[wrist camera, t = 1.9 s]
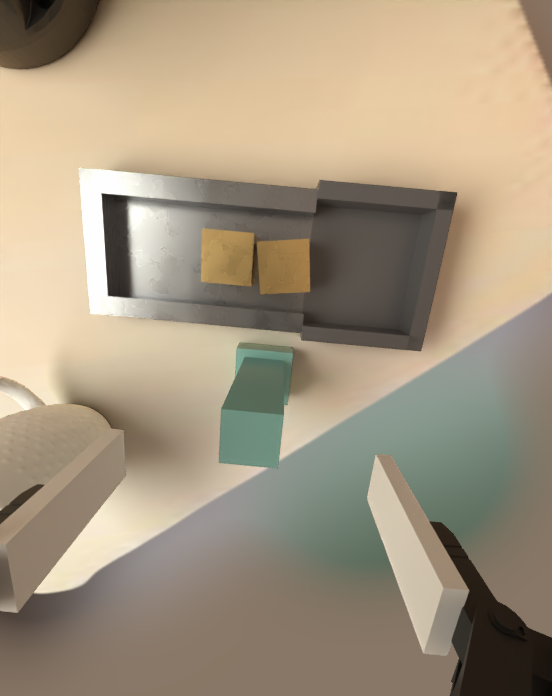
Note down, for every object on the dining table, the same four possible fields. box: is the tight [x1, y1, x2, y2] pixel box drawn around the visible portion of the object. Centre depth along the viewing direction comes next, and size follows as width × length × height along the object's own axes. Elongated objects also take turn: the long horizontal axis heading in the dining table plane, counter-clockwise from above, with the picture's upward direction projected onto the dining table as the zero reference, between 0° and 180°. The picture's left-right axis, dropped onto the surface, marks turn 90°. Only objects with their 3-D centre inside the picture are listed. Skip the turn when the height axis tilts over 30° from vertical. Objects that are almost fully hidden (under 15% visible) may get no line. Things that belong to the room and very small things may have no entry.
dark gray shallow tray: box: [79, 168, 318, 333], centre depth 25 cm, size 11×18×2 cm, turn 85°
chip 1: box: [201, 228, 257, 286], centre depth 24 cm, size 4×4×2 cm
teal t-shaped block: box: [219, 343, 293, 468], centre depth 23 cm, size 5×5×12 cm
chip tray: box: [300, 180, 457, 351], centre depth 24 cm, size 12×10×3 cm
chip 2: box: [257, 239, 310, 294], centre depth 24 cm, size 4×4×2 cm
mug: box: [0, 376, 111, 510], centre depth 24 cm, size 15×11×13 cm
